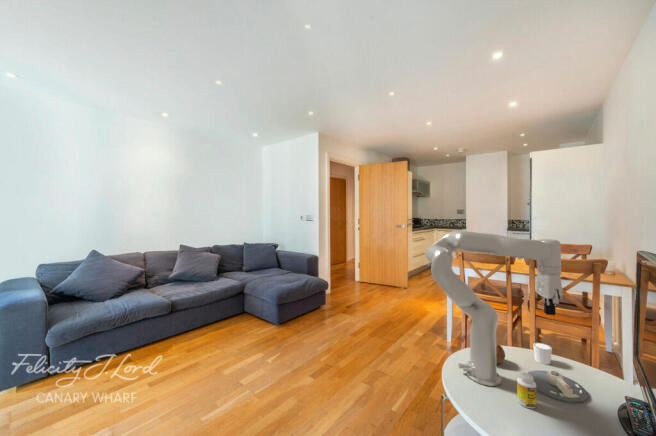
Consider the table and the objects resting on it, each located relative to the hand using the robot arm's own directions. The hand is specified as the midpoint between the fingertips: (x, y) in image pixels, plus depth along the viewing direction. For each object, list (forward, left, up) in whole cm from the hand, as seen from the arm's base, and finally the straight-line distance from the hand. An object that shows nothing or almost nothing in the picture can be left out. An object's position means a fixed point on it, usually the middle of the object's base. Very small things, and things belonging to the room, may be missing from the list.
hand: (549, 314), depth 108 cm
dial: (-1, -5, -27) cm, 28 cm away
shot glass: (+4, +15, -27) cm, 31 cm away
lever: (-1, -8, -26) cm, 27 cm away
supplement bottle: (-16, -18, -27) cm, 36 cm away
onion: (-18, +10, -27) cm, 34 cm away
